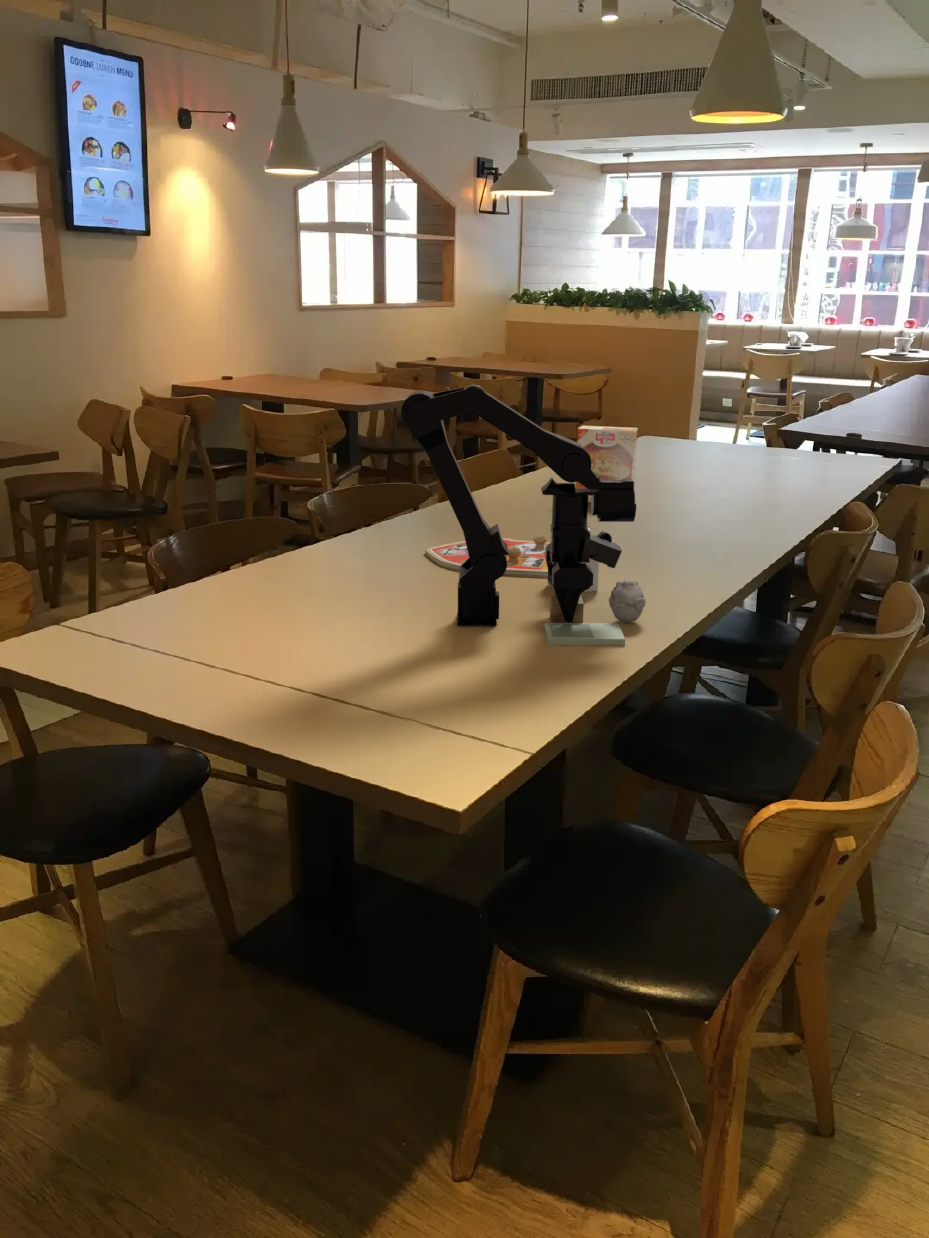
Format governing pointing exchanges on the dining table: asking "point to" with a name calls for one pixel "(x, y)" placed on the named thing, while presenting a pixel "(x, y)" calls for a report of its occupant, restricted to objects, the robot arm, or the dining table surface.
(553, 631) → the base board
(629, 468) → the coffeecake box
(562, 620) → the walnut block
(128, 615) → the dining table surface
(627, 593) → the grey lumpy rounded piece
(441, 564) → the knob puzzle
